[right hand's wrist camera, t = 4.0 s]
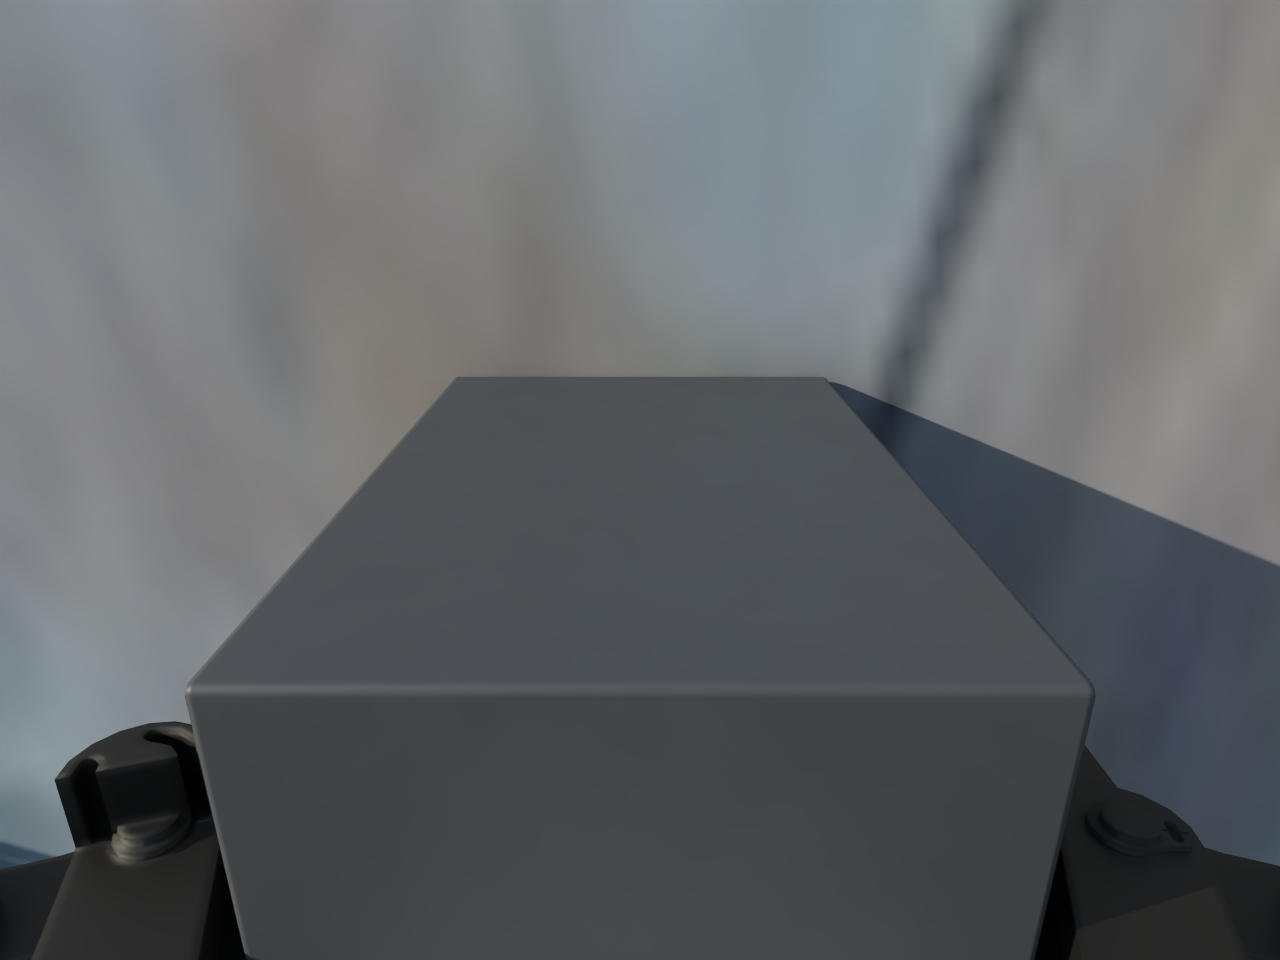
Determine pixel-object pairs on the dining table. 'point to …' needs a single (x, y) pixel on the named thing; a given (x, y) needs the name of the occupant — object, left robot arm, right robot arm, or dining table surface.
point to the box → (640, 697)
